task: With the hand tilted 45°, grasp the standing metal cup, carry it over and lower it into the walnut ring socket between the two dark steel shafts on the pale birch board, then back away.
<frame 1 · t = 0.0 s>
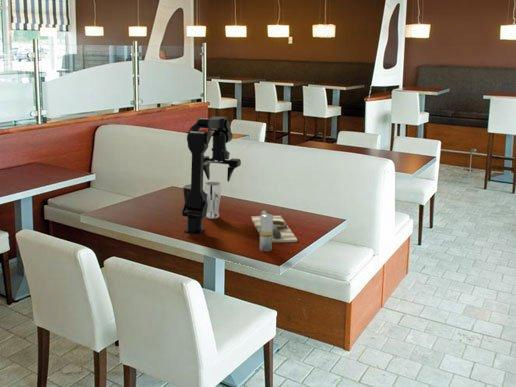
hand: (218, 180, 255), 15 cm above the table, tool pointing down, fingers open, 9 cm apart
metal cup: (265, 249, 214), on the table
beer glass: (212, 217, 252), on the table
shaft board: (276, 229, 238), on the table
coffee mug: (190, 208, 264), on the table
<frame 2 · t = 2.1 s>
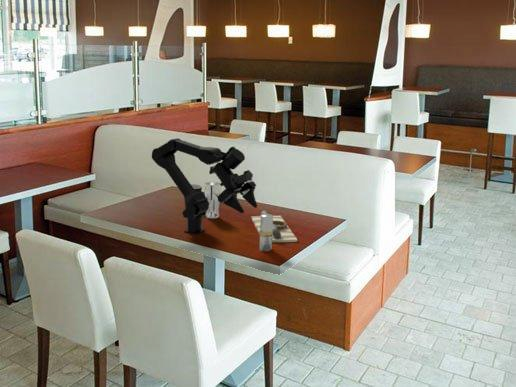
hand: (249, 210, 216), 13 cm above the table, tool tilted 45°, fingers open, 9 cm apart
nothing on the table moved.
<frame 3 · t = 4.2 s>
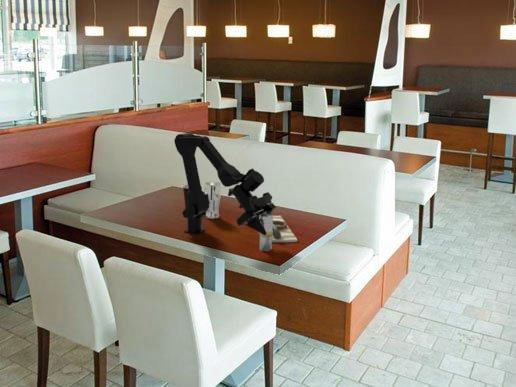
hand: (269, 232, 212), 7 cm above the table, tool tilted 45°, fingers closed on metal cup, 5 cm apart
metal cup: (265, 249, 214), on the table, touching gripper
everything else where it was.
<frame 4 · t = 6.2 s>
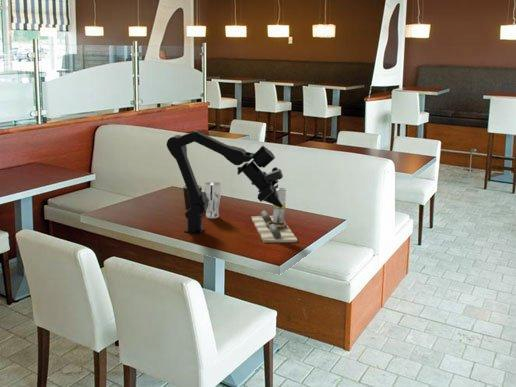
hand: (282, 205, 224), 13 cm above the table, tool tilted 45°, fingers closed on metal cup, 5 cm apart
metal cup: (278, 221, 226), point 7 cm above the table, touching gripper
everything else where it was.
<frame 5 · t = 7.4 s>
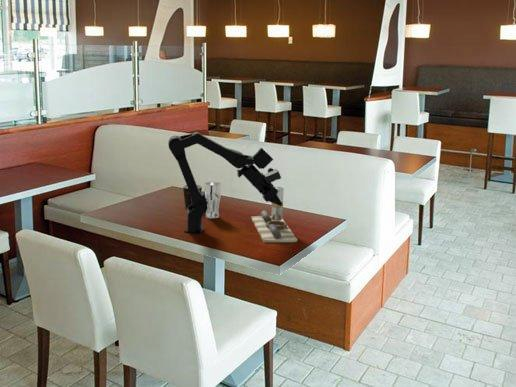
hand: (280, 203, 235), 11 cm above the table, tool tilted 45°, fingers closed on metal cup, 5 cm apart
metal cup: (276, 219, 237), point 4 cm above the table, touching gripper
everything else where it was.
when the fingers open (8 cm above the table, at t = 8.2 s): metal cup stays where it is, resting on shaft board.
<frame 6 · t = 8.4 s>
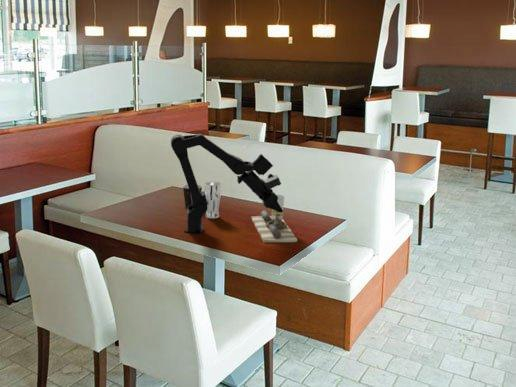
hand: (280, 209, 236), 9 cm above the table, tool tilted 45°, fingers open, 7 cm apart
metal cup: (276, 226, 238), point 1 cm above the table, touching shaft board
everything else where it was.
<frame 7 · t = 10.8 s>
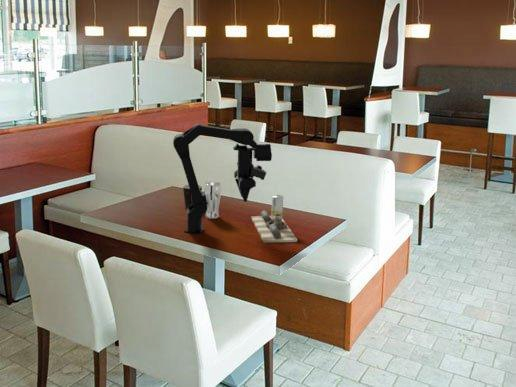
hand: (244, 199, 232), 13 cm above the table, tool pointing down, fingers open, 6 cm apart
nothing on the table moved.
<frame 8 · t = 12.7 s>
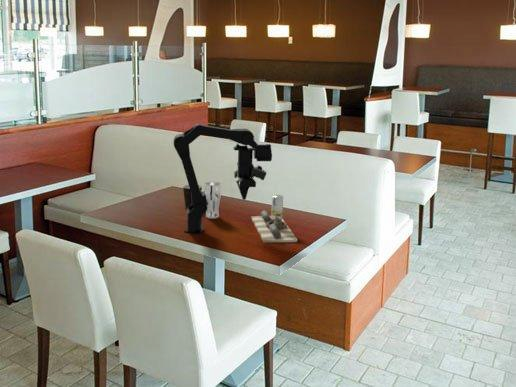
hand: (244, 199, 232), 13 cm above the table, tool pointing down, fingers closed
nothing on the table moved.
at the end: metal cup 0.1 cm off-centre on the shaft board, point 1.0 cm above the shaft board's base; metal cup tilted 1°; the gripper is holding nothing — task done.
